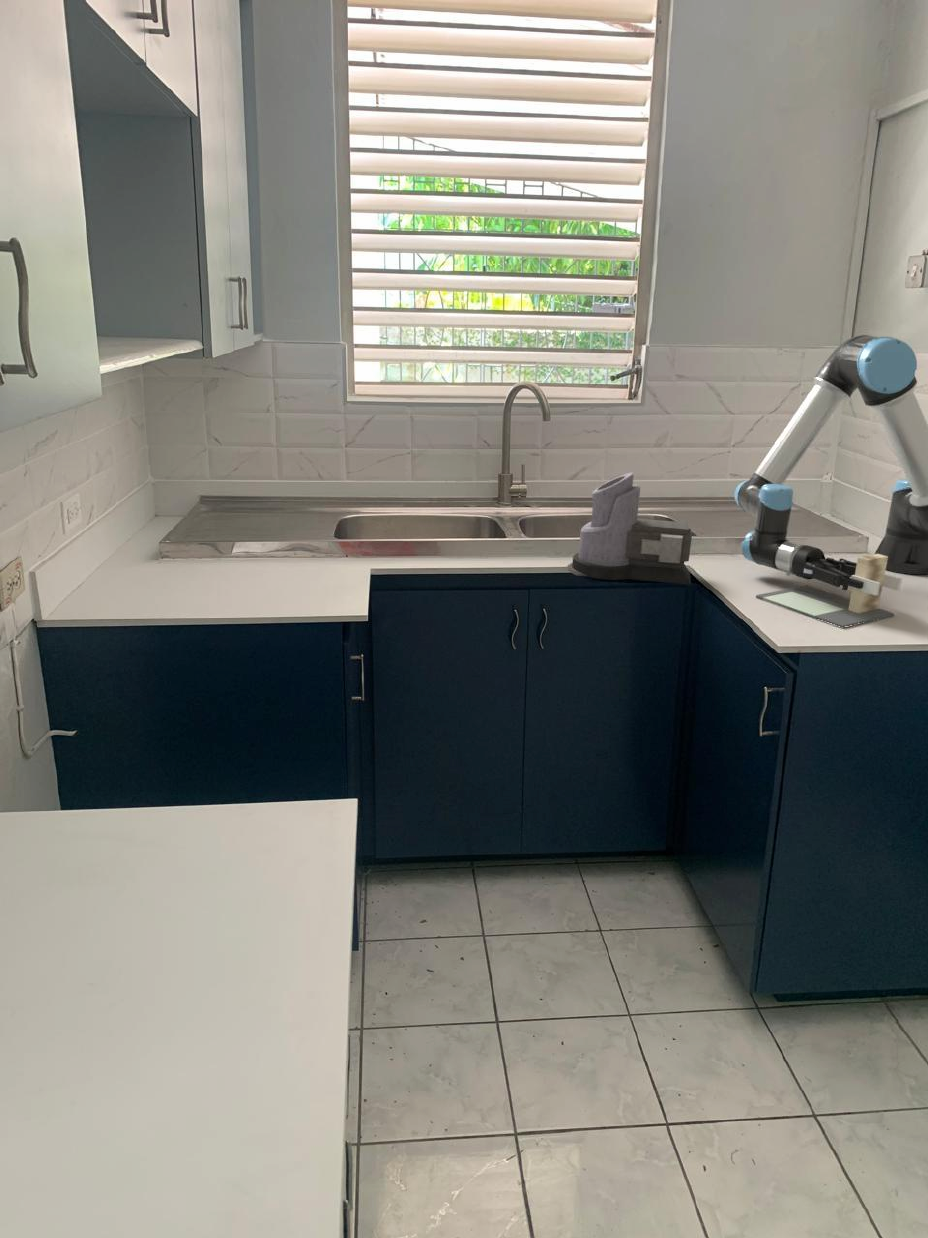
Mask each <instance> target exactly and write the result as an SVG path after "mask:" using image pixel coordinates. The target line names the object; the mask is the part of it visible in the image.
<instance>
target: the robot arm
mask: <svg viewBox="0 0 928 1238" xmlns="http://www.w3.org/2000/svg"><path fill="white" fill-rule="evenodd" d="M917 368H918V361H917V356H916V353H915V351H914V350H913V349H912V347H911V346H910V345H909V344H908V343H906V342H905V341H903V340H901V339H898V338H895V337H892V336H872V335H864V334H860V335H856V336H853V337H851V338H849V339H846V340H845V341H843V342H842V343H841V344H839V345H838V347H836V349H834V351H833V352H832V353H831V354H830V356H828V358H827V360H826V361H825V362H824V364H823V365H822V366H821V367H820V369H819V371H817V374H816V375H815V376H814V377H813V383H814V385H813V387H812V388H811V389H810V391H809V392H808V393H807V396H805V399H804V400H803V402H802V403H801V404H800V406H799V407H798V409H797V410H796V412H795V413H794V414H793V416H792V417H791V419H790V420H789V422H788V423H787V425H786V426H785V427H784V429H783V431H781V433H780V435H779V436H778V438H777V440H776V441H775V443H774V444H773V445H772V446H771V448H770V450H769V451H768V453H767V454H765V457H764V459H762V461H761V462H760V464H759V465H758V467H757V468H756V470H755V471H754V473H753V474H752V476H751V477H750V479H748V480H744V481H742V482H741V483H739V484H738V485H737V487H736V488H735V490H734V501H735V503H736V505H737V506H738V507H740V508H741V510H742V511H744V512H746V513H748V514H750V515H751V516H753V517H754V518H756V520H755V525H754V530H751V531H749V532H748V533H747V534H745V536H744V540H743V541H742V542H741V548H740V549H741V554H742V556H743V558H745V559H746V560H747V561H750V562H753V563H755V564H756V565H759V566H764V567H768V568H771V569H775V570H778V571H781V572H784V573H785V575H787V576H790V575H794V576H796V577H797V578H798V577H799V578H802V579H805V580H808V581H810V580H813V579H815V580H817V581H819V582H822V583H825V584H827V585H831V586H832V587H833V586H834V587H836V588H840V587H842V588H841V590H843V591H848V590H849V588H850V589H852V588H853V589H856V590H860V591H863V592H866V593H869V594H872V595H878V593H879V587H880V583H879V582H875V581H872V580H869V579H865V578H862V577H859V576H855V571H856V566H857V562H854V561H851V560H848V559H845V558H839V560H837V559H835V558H831V557H825V554H824V552H823V549H821V548H818V547H815V546H811V545H806V544H805V543H802V542H798V541H794V540H790V539H787V536H788V528H789V524H790V523H789V522H790V518H791V511H792V507H793V496H794V490H793V488H792V487H790V486H789V485H784V483H785V482H786V481H787V479H788V478H789V476H790V475H791V474H792V472H793V471H794V470H795V468H796V467H797V466H798V464H799V462H800V460H802V458H803V457H804V456H805V454H806V452H807V451H808V449H809V448H810V447H811V445H812V444H813V442H814V441H815V440H816V439H817V437H818V436H819V434H820V433H821V431H822V430H823V428H824V427H825V426H826V424H827V423H828V422H829V420H830V418H831V417H832V416H833V414H834V413H835V411H836V410H837V409H838V407H839V406H840V404H841V403H842V402H843V401H846V400H849V399H850V398H851V396H852V394H854V392H855V391H856V390H857V389H858V391H859V393H860V396H861V398H862V400H863V403H864V404H865V406H866V407H867V408H872V409H875V411H876V414H877V416H878V417H879V420H880V422H881V425H882V427H883V429H884V431H885V434H886V435H887V438H888V440H889V443H890V444H891V446H892V449H893V451H894V453H895V455H896V457H897V459H898V462H899V464H900V466H901V469H902V471H903V474H904V475H905V478H901V479H899V480H897V481H895V484H894V487H893V491H892V497H891V503H890V507H889V513H888V518H887V522H886V529H885V533H884V536H883V537H882V540H881V542H880V543H879V545H878V547H876V550H875V552H874V554H881V555H884V556H888V560H887V565H886V570H885V571H889V572H895V573H900V574H906V573H907V575H928V423H927V420H926V418H925V415H924V413H923V410H922V409H921V406H920V404H919V402H918V401H919V400H917V396H916V395H915V392H914V391H915V389H916V386H917V385H918V380H917V378H916V376H915V375H916V370H917ZM902 581H903V578H902V577H898V576H895V575H891V574H887V573H885V575H884V580H883V585H882V588H883V587H884V588H886V589H887V588H888V589H890V590H893V591H897V592H899V591H900V590H901V586H902Z"/></svg>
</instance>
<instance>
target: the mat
mask: <svg viewBox="0 0 928 1238" xmlns="http://www.w3.org/2000/svg"><path fill="white" fill-rule="evenodd" d="M755 599H759V600H762V601H764V602H766V603H767V602H768V603H770V604H773V605H776V606H778V607H780V608H783V607H784V609H787V610H789V611H792V612H795V613H797V614H801V615H803V616H806V617H809V618H811V617H812V619H814V618H815V620H817V619H820V620H823V621H826V622H829V623H832V624H835V625H837V626H840V627H845V626H850V625H854V624H858V623H863V622H867V623H870V622H869V621H871V622H874V621H873V620H875V621H878V620H877V619H880V620H883V619H887V618H892V617H895V613H894V612H891V611H888V610H884V609H881V608H879V607H878V609H875V610H871V611H866V612H862V613H856V612H853V611H850V610H848V609H849V603H850V598H848V597H844V596H843V595H840V594H839V595H838V594H836V593H834V592H833V593H832V592H830V591H826V590H824V589H821V588H817V587H814V586H812V585H808V584H807V585H802V586H798V587H797V586H796V587H790V588H786V589H780V590H776V591H775V590H774V591H771V592H766V593H760V594H756V595H755ZM820 620H819V621H820ZM823 621H822V622H823ZM863 624H864V623H863ZM837 626H836V627H837ZM850 627H851V626H850Z"/></svg>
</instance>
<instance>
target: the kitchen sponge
mask: <svg viewBox="0 0 928 1238" xmlns="http://www.w3.org/2000/svg"><path fill="white" fill-rule="evenodd" d="M887 560H888V556H884V555H881V554H875V553H874V554H869V555H863V556H858V557H857V561H856V563H857V566H856V571H855V576H859V577H862V578H865V579H869V580H872V581H875V582H879V583H880V587H879V593H878V595H872V594H869V593H866V592H863V591H860V590H856V589H853V588H851V593H850V598H849V599H850V603H849V609H848V610H850V611H853V612H856V613H862V612H866V611H871V610H875V609H878V608H879V605H880V600H881V595H882V590H883V586H882V585H883V580H884V575H885V574H886V571H887V570H886V565H887Z"/></svg>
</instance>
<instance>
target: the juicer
mask: <svg viewBox="0 0 928 1238" xmlns="http://www.w3.org/2000/svg"><path fill="white" fill-rule="evenodd" d="M634 475H635V473H634V472H628V473H627V472H626V473H625V474H623V475H620V476H617V477H616V478H615V477H614V478H612V479H611V480H609V481H607V482H605V483H603V484H601V485H600V486H598V487H596V488H595V489H594V490H593V491H592V492H591V497H590V498H591V499H592V511H591V521H589V522H587V523H586V524H584V525H583V527H581V529H580V534H579V535H580V536H579V549H578V552H577V553H575V554H573V556H572V562H570V563H569V564H568V565H566V570H567V571H568V572H569V573H571V574H573V575H575V576H579V577H588V578H592V579H599V580H610V581H611V580H614V581H617V580H635V581H645V582H655V583H656V582H657V583H658V582H659V583H668V584H676V585H679V584H680V585H689V586H690V585H692V580H691V574H690V573H691V572H690V570H689V568H687V566H686V564H685V562H689V561H690V556H691V555H690V554H691V553H690V552H691V546H692V537H693V532H692V529H691V528H690V527H689V523H688V522H683V521H672V520H671V521H670V520H660V519H650V518H649V519H648V518H638V514H639V503H640V494H641V485H639V484H634Z"/></svg>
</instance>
